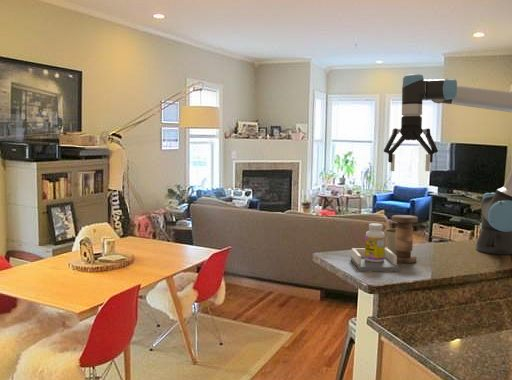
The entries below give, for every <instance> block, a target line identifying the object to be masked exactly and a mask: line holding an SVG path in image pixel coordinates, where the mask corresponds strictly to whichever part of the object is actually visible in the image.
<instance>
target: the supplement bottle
mask: <svg viewBox="0 0 512 380" xmlns="http://www.w3.org/2000/svg"><path fill="white" fill-rule="evenodd" d="M383 225H384V224H382V223H377V222H375V223H373V222H371V223H369V224H368V229H369V230H368V231H366V232H365V239H364V240H365V247H364V248H365V260H366V261H369V262H383V261H384V255H385V248H386V247H385V246H386V234H385V231H383Z"/></svg>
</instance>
